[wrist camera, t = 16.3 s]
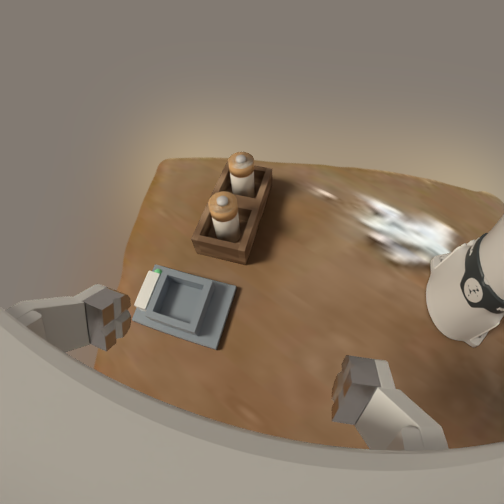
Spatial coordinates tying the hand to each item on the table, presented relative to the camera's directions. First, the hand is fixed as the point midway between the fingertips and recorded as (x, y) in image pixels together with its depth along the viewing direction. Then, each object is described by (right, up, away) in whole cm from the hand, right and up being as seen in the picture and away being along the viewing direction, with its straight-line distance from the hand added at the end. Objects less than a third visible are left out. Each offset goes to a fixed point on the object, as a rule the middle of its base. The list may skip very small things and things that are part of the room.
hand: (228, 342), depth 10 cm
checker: (-10, -5, +33) cm, 35 cm away
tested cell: (-3, +6, +38) cm, 39 cm away
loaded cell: (-1, +14, +42) cm, 44 cm away
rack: (-2, +9, +41) cm, 42 cm away
